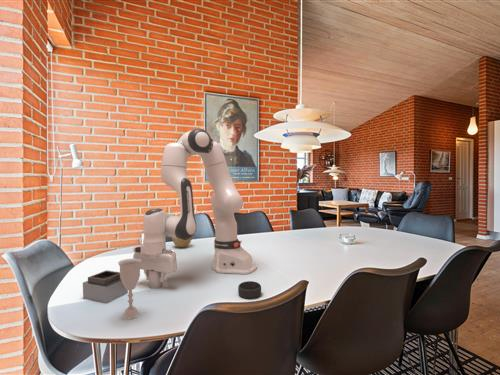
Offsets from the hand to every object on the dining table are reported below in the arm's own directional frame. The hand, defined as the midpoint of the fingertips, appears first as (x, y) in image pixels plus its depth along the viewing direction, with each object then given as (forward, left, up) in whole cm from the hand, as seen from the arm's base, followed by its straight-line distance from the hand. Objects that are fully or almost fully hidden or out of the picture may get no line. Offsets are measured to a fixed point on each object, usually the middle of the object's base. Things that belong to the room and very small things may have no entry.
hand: (155, 280), depth 118 cm
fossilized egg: (+28, -60, -2) cm, 66 cm away
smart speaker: (-40, -6, -3) cm, 41 cm away
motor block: (+14, +14, -2) cm, 20 cm away
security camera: (0, 0, -2) cm, 2 cm away
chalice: (-9, +23, -2) cm, 25 cm away
